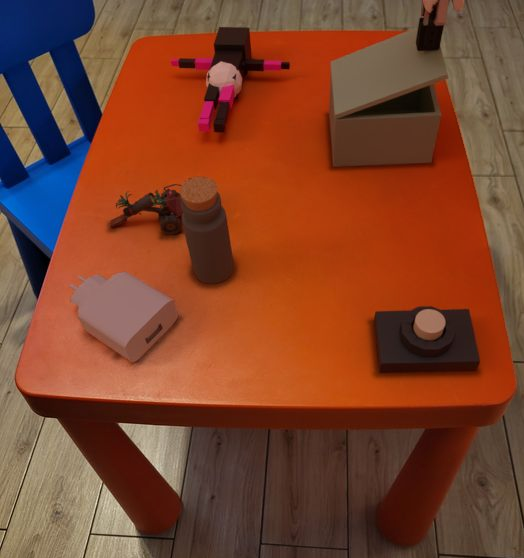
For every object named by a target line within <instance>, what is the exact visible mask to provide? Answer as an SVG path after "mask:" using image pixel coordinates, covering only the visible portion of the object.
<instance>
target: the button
mask: <svg viewBox="0 0 524 558" xmlns="http://www.w3.org/2000/svg"><path fill="white" fill-rule="evenodd" d="M444 327H445V318H444V316H443V315H442V314H441V313H440V312H438V311H436V310H432V309H426V310H422V311H420V312H419V313H418V314H417V315H416V318H415V322H414V326H413V329H414V332H415V334H416V335H417V336H418V337H419V338H421V339H423V340H426V341H433V340H436V339H438V338H439V337H440V336H441V335H442V333H443V330H444Z"/></svg>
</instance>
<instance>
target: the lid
mask: <svg viewBox="0 0 524 558" xmlns="http://www.w3.org/2000/svg"><path fill="white" fill-rule="evenodd" d="M417 31H418V26H416V27H414V28H412V29H408V30H407V31H404V32H402V33H401V32H400V33H399V34H396V35H394V36H391V37H389V38H387V39H384V40H382V41H379V42H377V43H374V44H372V45H369V46H366V47H364V48H362V49H358V50H356V51H354V52H351V53H349V54H346V55H344V56H341V57H339V58H337V59H334V60H331V61H330V64H329V65H330V76H331V77H332V89H333V100H334V112H335V117H336V119H338V118H341V117H343V116H346V115H349V114H352V113H354V112H357V111H360V110H363V109H366V108H368V107H371V106H374V105H377V104H379V103H382V102H385V101H388V100H390V99H393V98H396V97H399V96H401V95H404V94H407V93H410V92H412V91H415V90H418V89H421V88H423V87H426V86H429V85H432V84H434V85H435V84H438V83H440V82H442V81H445V80H448V79H449V75H448V71H447V66H446V63H445V58H444V54H443V51H442V48H441V46H440V48H439V49H438V50H431V51H418V50H417V46H416V37H417Z"/></svg>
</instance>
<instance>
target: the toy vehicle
mask: <svg viewBox="0 0 524 558" xmlns="http://www.w3.org/2000/svg"><path fill="white" fill-rule="evenodd" d="M191 178H192V177H188V179H187V180H189V179H191ZM187 180H184V182H186V181H187ZM182 185H183V184H179V183H173V184H171V185H167V186H163V189H162V190H163V192H162V193H161V194H160V193H159V189H156V190H155V191H154V193H153V192H148V193H147V194H144V195H143V196H142V197H140V198H139V199H138V200H136V201H134V202H133V203H130V201H129V197H130V196H132V195H133V194H132V193H129V192H130V190H127V191H126V192H125V196H123V195H122V194H120V196H119V197H120V198H119V199H118V200H117V202H116V203H115V208H116V209H120V208H123V210H122V214H120V215H118V216H117V217H115V218H112V219H111V220H110V224H109V225H110V226H109V227H110V228H111V229H113V228H115V227H118V226H120V225H121V224H123V223H125V222H127V221H128V219H129V218H131V217H133V216H136V215H138V214H139V215H141V216H142V213H141V212H149V213H156V214H158V216H157V219H158V222H159V223H160V224H159V225H160V231H161V232H163V233H165V235H167V236H168V235H172V236H174V235H177V234H178V233H179V232H181V230H182V220H181V219H178V217H180V216H182V213H183V210H182V207H181V199H182V197H181V195H180V192H177V190H175V189H170V188H171V187H174V186H179V187H181V186H182ZM128 193H129V194H128ZM158 206H159V207H158Z"/></svg>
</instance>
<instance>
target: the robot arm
mask: <svg viewBox="0 0 524 558" xmlns="http://www.w3.org/2000/svg"><path fill="white" fill-rule="evenodd" d="M450 1H451V2H452V6H453V9H454V11H456V12H461V11H462V10H463V8H464V5H465V1H466V0H422V1H421V8H420V17H419V20H418V25H417V27H418V31H417V37H416V46H417V50H418V51H431V50H438V49H439V48H440V47H441V43H442V39H443V38H442V37H443V32H444V27H445V25H446V23H447V16H448V9H449V6H450Z"/></svg>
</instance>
